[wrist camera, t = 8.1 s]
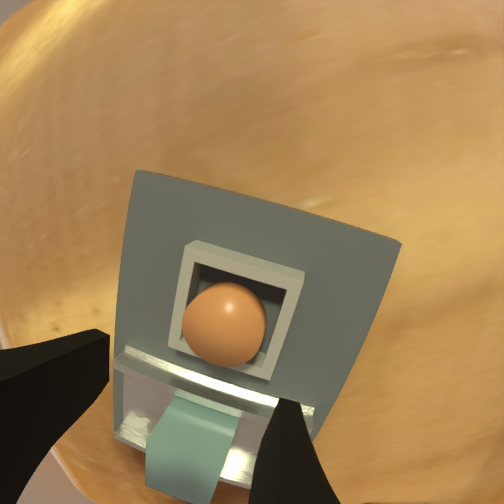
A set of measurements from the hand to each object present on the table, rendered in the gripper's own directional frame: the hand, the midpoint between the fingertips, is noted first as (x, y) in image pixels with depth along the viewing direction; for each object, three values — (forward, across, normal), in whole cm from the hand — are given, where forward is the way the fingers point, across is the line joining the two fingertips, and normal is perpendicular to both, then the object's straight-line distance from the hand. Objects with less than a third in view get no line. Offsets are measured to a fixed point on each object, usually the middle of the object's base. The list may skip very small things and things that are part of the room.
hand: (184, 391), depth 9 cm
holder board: (+8, 0, +4) cm, 10 cm away
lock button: (+6, 0, 0) cm, 6 cm away
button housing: (+8, 0, 0) cm, 8 cm away
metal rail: (+8, 0, +9) cm, 12 cm away
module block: (+7, 0, +9) cm, 11 cm away
